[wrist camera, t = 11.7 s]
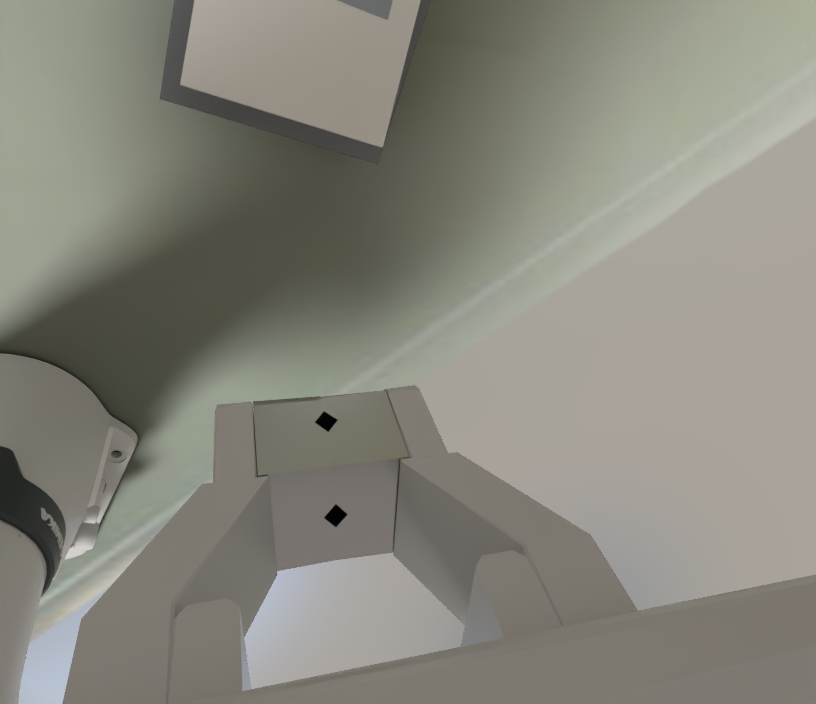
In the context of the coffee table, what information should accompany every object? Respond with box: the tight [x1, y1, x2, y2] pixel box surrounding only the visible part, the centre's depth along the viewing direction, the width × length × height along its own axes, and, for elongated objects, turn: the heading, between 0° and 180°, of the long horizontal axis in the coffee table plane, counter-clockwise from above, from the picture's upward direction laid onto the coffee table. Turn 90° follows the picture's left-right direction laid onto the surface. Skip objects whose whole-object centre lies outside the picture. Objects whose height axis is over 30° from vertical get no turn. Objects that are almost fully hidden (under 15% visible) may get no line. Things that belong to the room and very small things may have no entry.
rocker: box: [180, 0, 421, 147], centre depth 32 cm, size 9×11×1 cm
